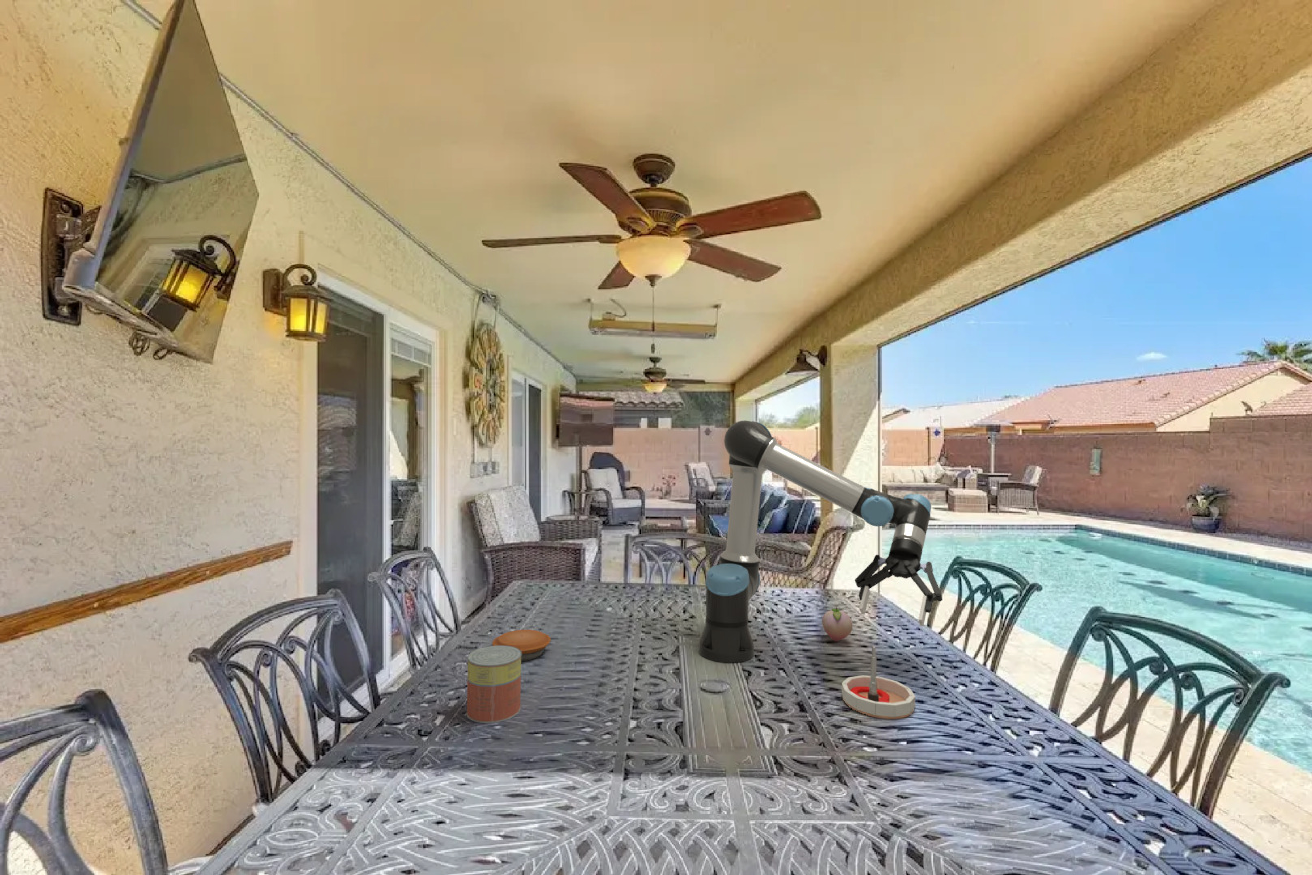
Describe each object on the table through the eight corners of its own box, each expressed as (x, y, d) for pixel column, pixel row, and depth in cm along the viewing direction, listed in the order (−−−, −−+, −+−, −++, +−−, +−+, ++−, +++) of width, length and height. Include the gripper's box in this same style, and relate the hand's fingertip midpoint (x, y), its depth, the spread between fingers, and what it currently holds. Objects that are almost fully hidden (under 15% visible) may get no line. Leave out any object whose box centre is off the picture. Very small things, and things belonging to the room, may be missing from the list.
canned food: (504, 693, 132) (504, 641, 132) (530, 711, 124) (531, 655, 124) (457, 709, 124) (457, 653, 124) (482, 728, 116) (483, 669, 116)
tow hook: (848, 689, 137) (853, 705, 128) (848, 634, 137) (854, 646, 128) (885, 693, 135) (893, 709, 126) (886, 637, 136) (894, 649, 126)
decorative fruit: (856, 647, 165) (857, 612, 166) (827, 646, 166) (828, 611, 166) (846, 635, 175) (846, 603, 175) (819, 635, 175) (819, 602, 175)
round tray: (848, 715, 124) (848, 701, 124) (838, 686, 139) (838, 673, 139) (922, 722, 122) (922, 707, 122) (903, 691, 136) (903, 678, 136)
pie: (479, 659, 153) (479, 640, 153) (515, 640, 167) (515, 623, 167) (528, 668, 147) (528, 649, 147) (561, 648, 161) (561, 630, 161)
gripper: (962, 561, 145) (949, 636, 133) (861, 548, 160) (842, 614, 148) (958, 543, 141) (945, 619, 129) (856, 531, 156) (835, 598, 144)
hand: (890, 617), depth 138 cm, fingers open, 13 cm apart
